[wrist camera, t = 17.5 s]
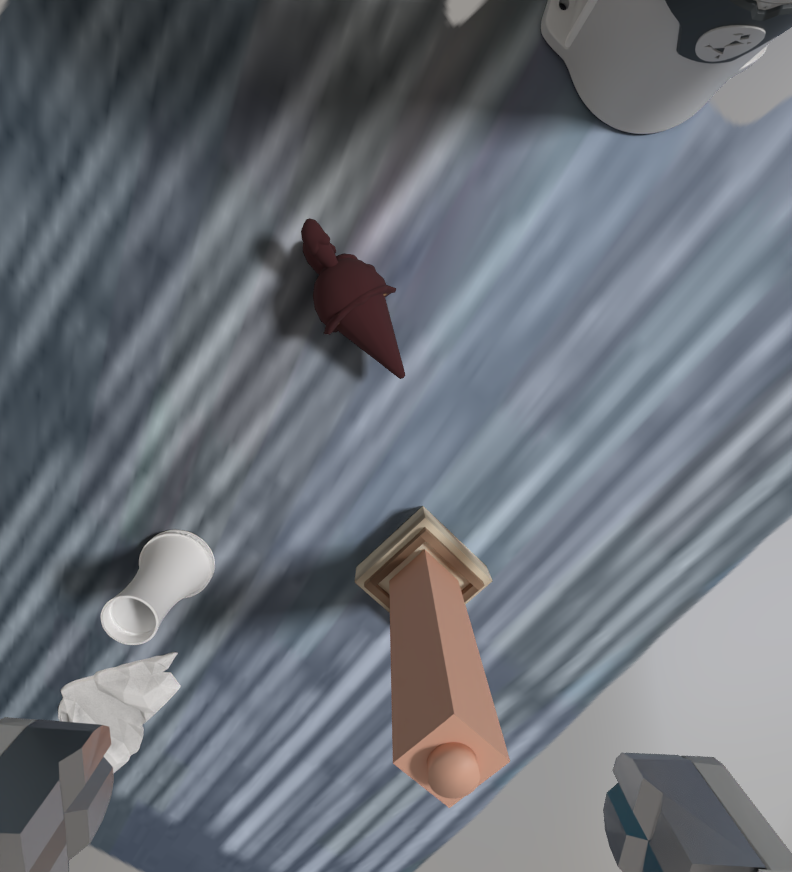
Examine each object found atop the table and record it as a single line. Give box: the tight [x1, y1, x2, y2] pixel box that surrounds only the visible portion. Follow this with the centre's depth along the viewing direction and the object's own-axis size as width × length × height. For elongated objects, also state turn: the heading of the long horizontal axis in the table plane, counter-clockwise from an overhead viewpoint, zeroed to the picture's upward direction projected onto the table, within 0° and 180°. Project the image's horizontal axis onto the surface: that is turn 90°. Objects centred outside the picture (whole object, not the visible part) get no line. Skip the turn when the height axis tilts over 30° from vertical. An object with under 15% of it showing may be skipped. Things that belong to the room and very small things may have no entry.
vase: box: [101, 530, 215, 645], centre depth 44 cm, size 8×8×10 cm
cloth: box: [58, 652, 181, 773], centre depth 53 cm, size 26×14×2 cm, turn 131°
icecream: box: [301, 218, 405, 379], centre depth 40 cm, size 7×7×15 cm
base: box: [355, 506, 492, 613], centre depth 48 cm, size 10×10×4 cm
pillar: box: [389, 549, 510, 808], centre depth 37 cm, size 5×5×21 cm
